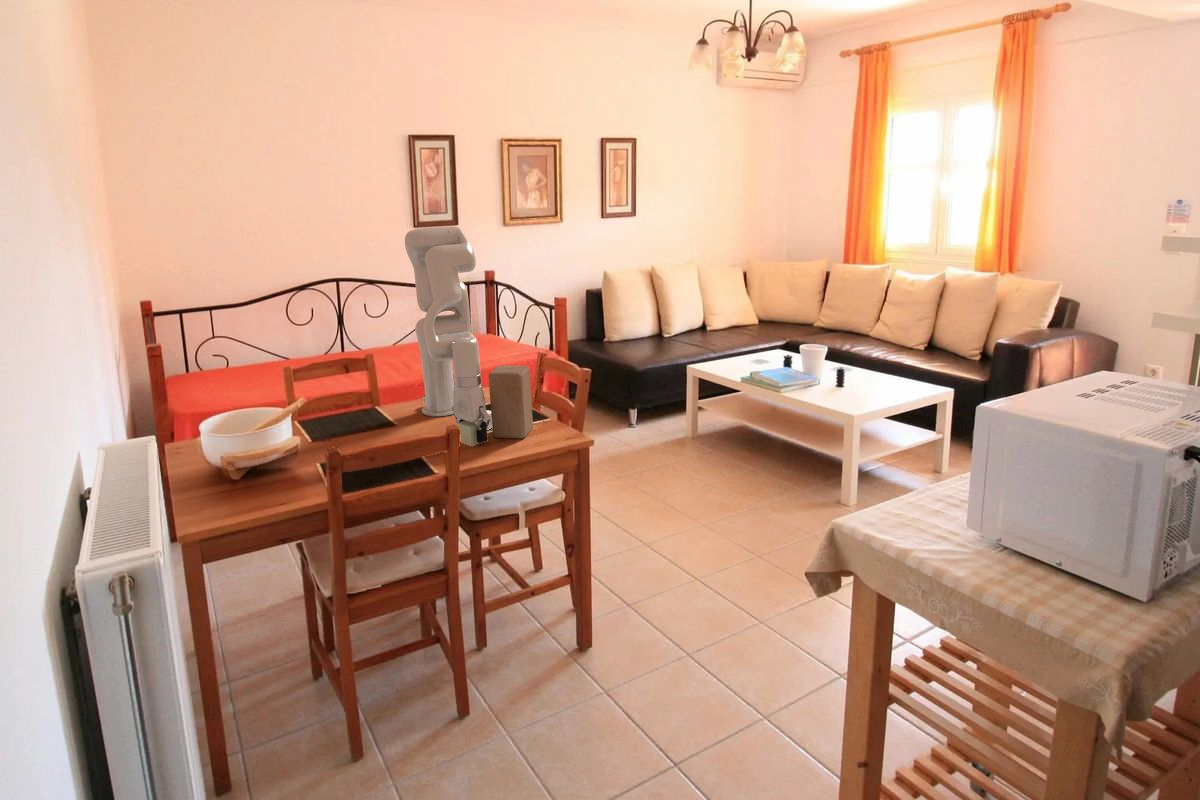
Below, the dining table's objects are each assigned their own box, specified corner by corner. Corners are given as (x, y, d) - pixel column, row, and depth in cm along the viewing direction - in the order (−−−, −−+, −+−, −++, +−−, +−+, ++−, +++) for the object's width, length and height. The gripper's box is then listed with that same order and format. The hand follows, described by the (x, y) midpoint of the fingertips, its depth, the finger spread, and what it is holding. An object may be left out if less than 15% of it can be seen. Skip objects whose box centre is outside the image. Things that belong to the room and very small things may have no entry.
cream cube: (473, 429, 231) (472, 414, 229) (483, 424, 235) (481, 409, 234) (486, 431, 229) (485, 416, 227) (496, 426, 233) (495, 411, 231)
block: (524, 439, 220) (520, 373, 214) (492, 438, 222) (486, 372, 216) (534, 428, 230) (530, 364, 224) (502, 427, 232) (498, 364, 226)
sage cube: (458, 442, 220) (456, 423, 218) (475, 437, 224) (473, 417, 223) (471, 446, 216) (469, 427, 215) (487, 441, 220) (486, 421, 219)
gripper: (438, 378, 218) (444, 435, 223) (476, 388, 207) (481, 448, 212) (459, 373, 223) (464, 429, 228) (497, 382, 212) (502, 441, 217)
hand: (473, 438), depth 220 cm, fingers open, 8 cm apart
